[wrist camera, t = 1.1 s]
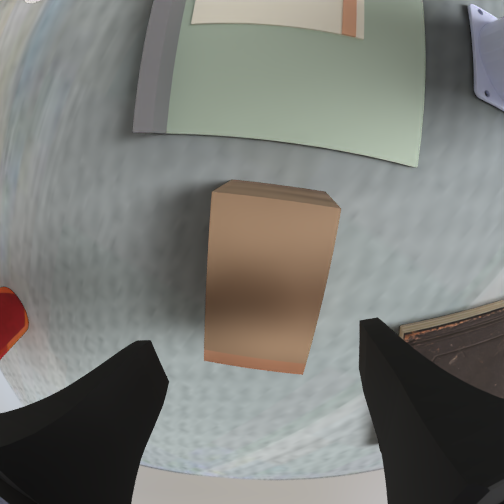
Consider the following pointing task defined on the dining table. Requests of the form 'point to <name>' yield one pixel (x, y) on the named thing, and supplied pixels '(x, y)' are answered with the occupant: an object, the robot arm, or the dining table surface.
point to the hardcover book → (464, 345)
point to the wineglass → (31, 1)
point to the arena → (288, 73)
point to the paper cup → (11, 320)
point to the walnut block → (266, 273)
